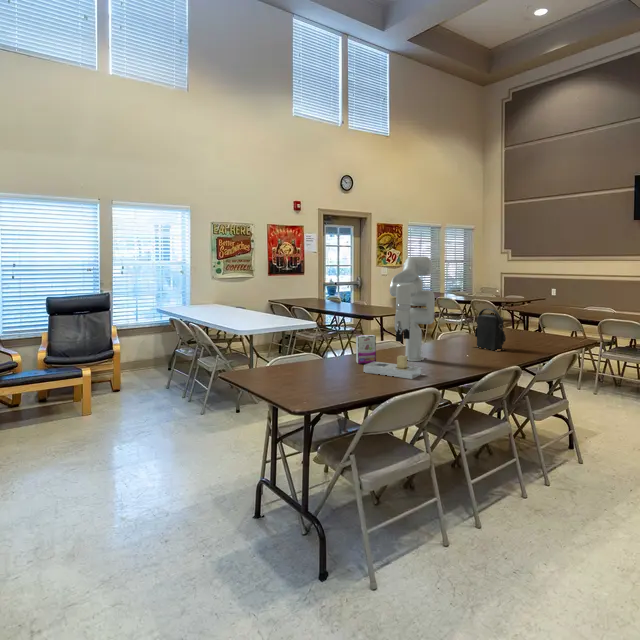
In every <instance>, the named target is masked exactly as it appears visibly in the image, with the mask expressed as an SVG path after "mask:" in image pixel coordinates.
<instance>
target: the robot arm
mask: <svg viewBox="0 0 640 640" xmlns="http://www.w3.org/2000/svg"><path fill="white" fill-rule="evenodd" d="M433 270H434V266H433V262H432V260H431V259H430V257H428V256H409V257H407V258H406V259H405V261H404V263H403V264H402V271H400V272H398V273H397V274H395V275H394V276H393V277H392V279H391V281H390V285H389V290H388V291H389V295H390V296H391V297H394V298H395V317H394V331H395V341H396V342H399V343H400V342H401V343H402V342H403V339H404V340H405V356H407V360H408V361H407V362H421V360H422V361H424V359H425V358H424V356H422V355H423V350H422V339H423V337H422V336H423V331H422V329H421V327H420V326H419V325H432V324H433V323H434V321H435V303H436V302H435V301H436V300H435V293H434V291H432V290H429V289H428V290H427V289H426V290H423V281H422V279H421V277H419V276H430V275H432V273H433ZM411 306H414V307H411ZM424 307H425V308H424Z"/></svg>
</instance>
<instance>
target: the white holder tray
mask: <svg viewBox="0 0 640 640" xmlns="http://www.w3.org/2000/svg"><path fill="white" fill-rule="evenodd" d="M364 372H365V374H371V375H378V374H380V375H379V376H385V375H387V376H386V377H392V376H394V378H401V379H409V380H413V379H415V378H417V377H419V376H421V375H422V367H421V366H414V365H407V369H399V368H397V363H390V362H384V361H383V362H381V361H376V362H375V361H373V362H371V363H366V364H363V373H364ZM420 374H421V375H420Z"/></svg>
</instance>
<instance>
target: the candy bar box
mask: <svg viewBox="0 0 640 640" xmlns="http://www.w3.org/2000/svg"><path fill="white" fill-rule="evenodd" d="M355 350H356V351H355V352H356V353H355V361H356V363H357V364H358V365H362V364H363V365H366V364H368V363H371V362H373V361H375V362H377V336H376V335H375V334H362V335H355Z"/></svg>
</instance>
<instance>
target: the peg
mask: <svg viewBox="0 0 640 640" xmlns="http://www.w3.org/2000/svg"><path fill="white" fill-rule="evenodd" d="M396 364H397V368H399V369H407V366H408V361H407V356H406V355H402V354H400V355H398V356H397V357H396Z"/></svg>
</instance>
